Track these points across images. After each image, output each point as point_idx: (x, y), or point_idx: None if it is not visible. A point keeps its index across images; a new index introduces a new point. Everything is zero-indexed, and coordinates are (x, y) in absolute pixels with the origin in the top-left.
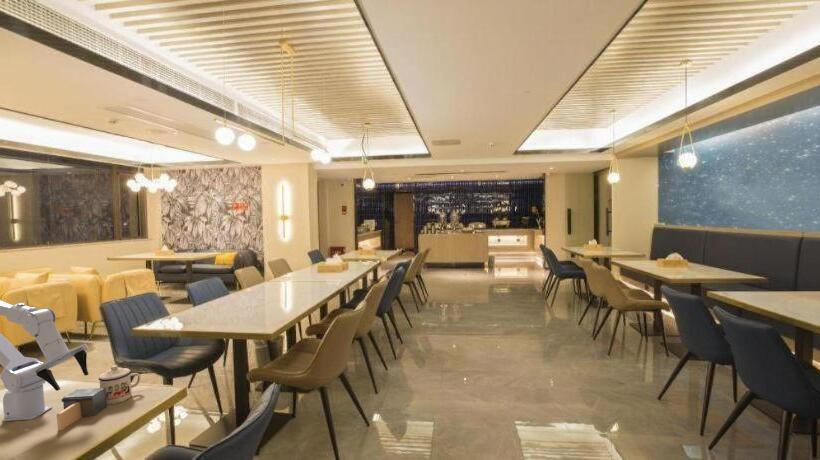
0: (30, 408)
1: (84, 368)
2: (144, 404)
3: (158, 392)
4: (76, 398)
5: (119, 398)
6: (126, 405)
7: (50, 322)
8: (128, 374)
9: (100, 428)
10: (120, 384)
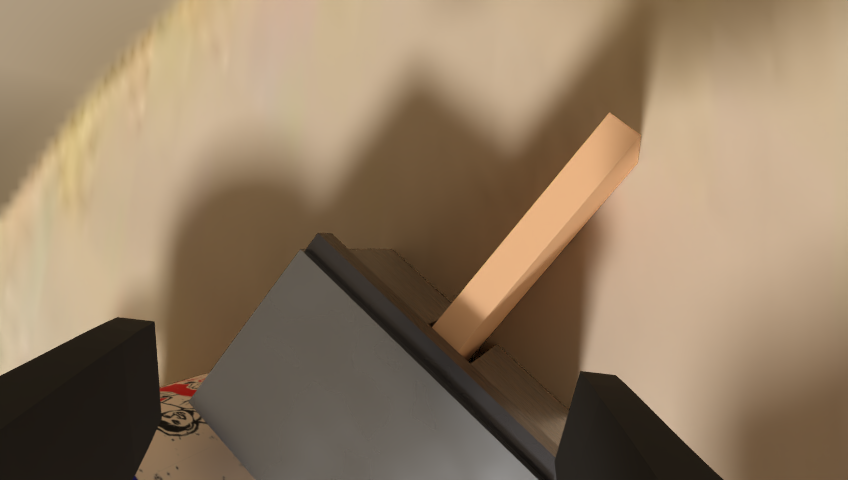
0: None
1: (19, 368)
2: (130, 192)
3: (41, 339)
4: (433, 342)
5: (205, 376)
6: (207, 275)
7: None
8: None
9: None
10: None
